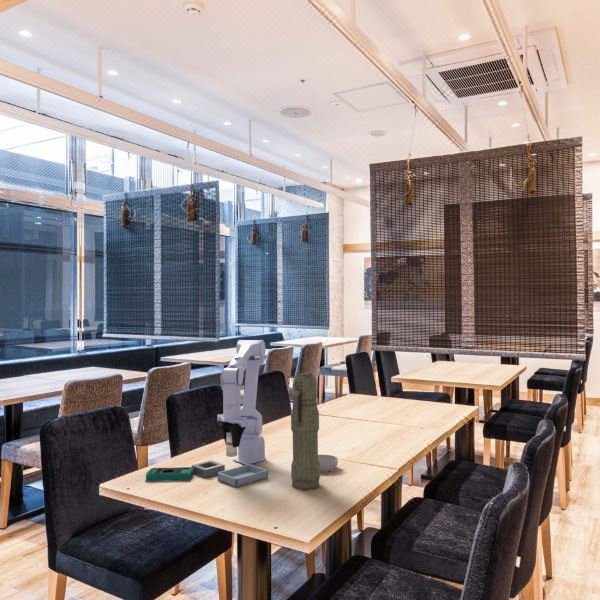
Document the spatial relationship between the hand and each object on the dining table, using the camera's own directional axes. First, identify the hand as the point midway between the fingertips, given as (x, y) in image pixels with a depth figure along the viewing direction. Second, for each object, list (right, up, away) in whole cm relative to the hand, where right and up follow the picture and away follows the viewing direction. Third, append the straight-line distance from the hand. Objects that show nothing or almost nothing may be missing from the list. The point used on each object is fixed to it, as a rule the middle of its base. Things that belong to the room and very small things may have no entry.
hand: (232, 445), depth 179 cm
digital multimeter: (-21, -11, +1) cm, 24 cm away
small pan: (+27, -11, +11) cm, 31 cm away
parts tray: (+4, -10, -2) cm, 11 cm away
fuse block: (-9, -11, +5) cm, 15 cm away
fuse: (0, -3, 0) cm, 3 cm away
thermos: (+24, -10, -9) cm, 28 cm away
